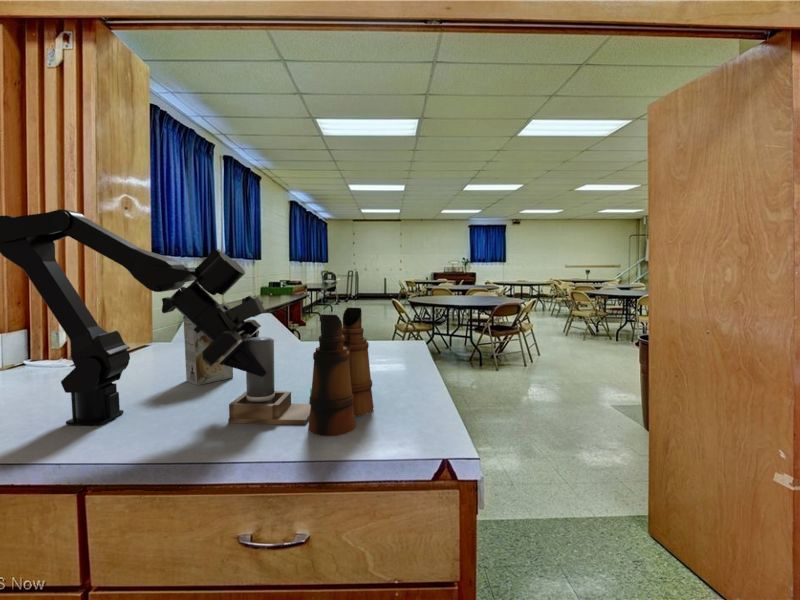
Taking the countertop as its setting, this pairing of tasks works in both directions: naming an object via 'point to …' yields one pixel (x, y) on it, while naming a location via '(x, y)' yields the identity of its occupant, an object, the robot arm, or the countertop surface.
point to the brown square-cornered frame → (269, 411)
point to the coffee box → (201, 358)
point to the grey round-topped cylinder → (263, 387)
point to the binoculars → (340, 375)
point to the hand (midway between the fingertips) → (267, 371)
